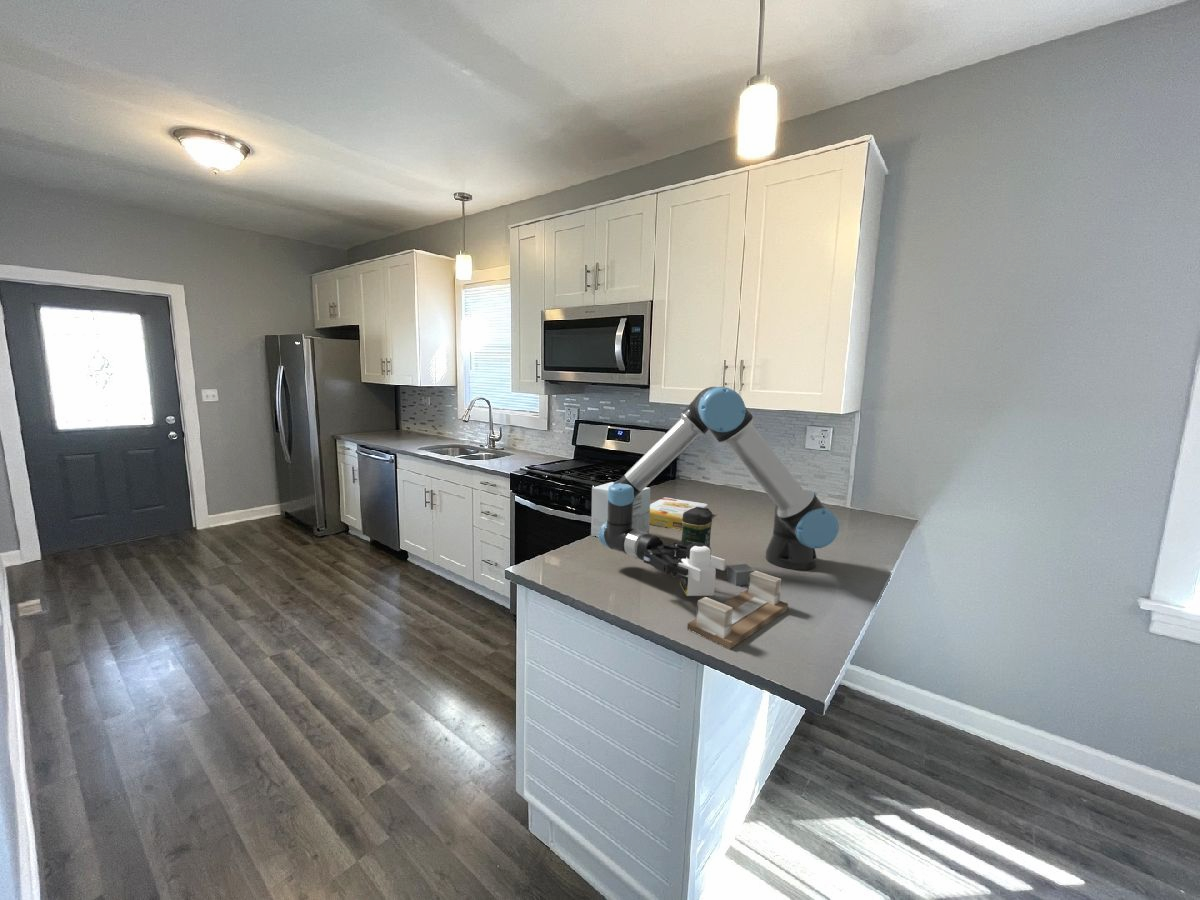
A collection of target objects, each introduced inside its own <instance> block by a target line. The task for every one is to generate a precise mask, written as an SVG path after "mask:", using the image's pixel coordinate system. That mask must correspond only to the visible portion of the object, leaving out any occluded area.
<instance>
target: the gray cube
mask: <svg viewBox="0 0 1200 900" xmlns="http://www.w3.org/2000/svg"><path fill="white" fill-rule="evenodd" d="M754 571H757V570H756V569H754V568H752V567H751V566H750V565H748V564H747V563H742V564H731V565H730V564H729V565H727V567H726V579H727V580H728V581H729V580H730V581H729V582H731V583H732V584H733V585H734V584H735V585H734V586H744V585H748V579H749V576H750V573H752V572H754Z"/></svg>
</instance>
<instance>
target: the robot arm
mask: <svg viewBox="0 0 1200 900" xmlns="http://www.w3.org/2000/svg"><path fill="white" fill-rule="evenodd" d="M753 424H754V416H753V415H752V414H751V412H750V411H749V409H748V408H747V407H746V404H745V402H744V400H743V397H742V396H741V395H740V394H739V393H738V392H737V391H736V390H734V389H732V388H729V387H725V386H709V387H706V388H705V389H703V390H701V391H700V392H698V394H697V395H696V396H695V397H694V399H693V400H692V401H691V402H690V403H689V405H688V406H687V407H686V408H685V409H684V410H683V411H682V412H681V413H680V419H678V420H677V422H675V424H673V425H672V427H671V428H670V429H669V430H668V431H666V433H665V434H664V435H662V436H661V438H659V440H657V442H655V444H654V445H653V446H651V448H649V450H648V451H647V452H645V454H643V455H642V457H641V458H640V459H638V460H637V461H636V462H635V464H633V466H632V467H630V468H629V469H628V470H627V471H626V473H625V474H624V475H623V476H622V477H621V478H620V479H619V480H616V481H614V483H613V485H611V486H609V488H608V497H607V499H608V519H607V522H605V523H604V524H603V525H602V526H601V530H600V531H599V537H598V539H599V542H600V543H601V544H602V545H603V546H605V547H607V548H609V549H611V550H614V551H617V552H620V553H622V554H625V555H628V556H631V557H634V559H639V560H641V561H643V563H645V564H646V565H647V564H648V565H649V566H652V567H654V568H655V569H656V570H657V571H660V572H662V574H664V575H667V576H668V575H670V574H671V577H677V575H679V576H680V575H683V576H685V577H688V578H691V579H693V580H696V581H699V582H700V581H701V576H702V570H700V569H697V568H694V567H691V566H688V565H686V564H683V563H680V562H678V563H677V562H676V561H677V560H680V559H686V554H687V545H682V544H681V543H678V542H676V541H675V542H673V544H672V545H670V544H669V543H664V542H663V541H662V539H661V537H659V536H656V535H654V534H651V533H649V534H648V533H646V532H642V531H639V530H636V529H633V528H632V525H633V502H634V498H635V497H636V496H637V495H638V494H639V493H640V492H641V491H642V490H643V489H644V488H645V487H647V486H649V484H650V483H651V482H653V480H655V478H656V477H658V476H659V475H660V474H661V472H663V471H664V470H665V469H666V468H667V467H668V466H669V465H670V464H671V463H672V462H673V461H674V460H675V459H677V457H678V456H679V455H680V454H682V452H683V451H684V450H685V449H686V448H688V446H689V445H691V443H692V442H694V440H696V438H697V437H699V436H704V435H705V434H706V433H707V432H708V431H709V432H710V433H711V435H713V436H714V438H715V439H716V440H717V442H718V443H719V444H726V445H728V447H729V448H730V449H731V451H732V452H733V453H734V454H735V456H736V457H737V458H738V460H740V462H741V463H742V464H743V466H744V467H746V469H747V470H748V471H749V473H750V474H751V475H752V476H753V478H754V479H755V480H756V482H757V483H758V484H759V485H760V486H761V488H762V489H763V490H764V492H765V493H766V494H767V495H768V497H769V498H770V499H771V500H772V501H773V503H774V504H775V505H774V515H773V530H772V536H771V539H770V540H769V543H768V545H767V547H766V550H765V559H766V560H767V561H768V563H770V564H773V565H775V566H778V567H781V568H786V569H792V570H809V569H813V568H815V567H816V566H817V561H818V559H817V558H818V557H817V554H816V550H815V549H822V548H825V547H828V546H829V545H831V544H832V543H833V542H834V541H835V539H836V538H837V536H838V534H839V530H840V523H839V520H838V518H837V516H836V515H835V514H834V512H833V511H831V510H829V509H827V507H826V506H825V505H824V504H823V503H822V502H821V500H820V499H819V498H818V497H817V493H816V492H815V491H813V490H811V489H804V488H803V487H802V485H801V484H800V483H799V481H798V480H797V479H796V478H795V476H794V475H793V474H792V473H791V471H790V470H789V469H788V468H787V466H786V465H785V464H784V463H783V461H782V460H781V459H780V458H779V456H778V455H777V454H776V452H775V451H774V450H773V449H772V448H771V447H770V445H769V444H768V443H767V441H766V440H765V439H764V438H763V436H762V435H761V434H760V432H759V431H758V430H757V428H756V427H755V426H754V425H753ZM710 563H711V564H712V565H713V566H714V568H715V569H717V570H720V571H725V569H726V559H724V558H721V557H718V556H715V555H712V554H711V561H710Z"/></svg>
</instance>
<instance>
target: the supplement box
mask: <svg viewBox="0 0 1200 900" xmlns="http://www.w3.org/2000/svg"><path fill="white" fill-rule="evenodd" d="M613 483H615V481H614V482H613V481H611V482H607V483H604V484H600V485H597V486H593V487H592V488H591V518H590V519H591V522H590V523H591V524H590V525H591V526H590V536H591V537H595V536H596V538H599V531H600V530H601V526H602V525H603V524H604V523H605V522H607V519H608V499H607V497H608V488H609V486H611V485H613ZM650 504H651V487H647V486H646V487H645V488H644V489H643V490H642V491H641V492H640V493H639V494H638V495H637V496H636V497H635V498H634V502H633V525H632V528H633V529H636V530H639V531H642V532H646V533H648V534H650V524H649V520H650Z"/></svg>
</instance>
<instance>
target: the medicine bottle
mask: <svg viewBox="0 0 1200 900" xmlns="http://www.w3.org/2000/svg"><path fill="white" fill-rule="evenodd" d="M711 555H712V548H711V545H710V546H708V545H706V544H704V543H691V544H689V545H688V546H687V554H686V559H681V563H683V564H686V565H688V566H691V567H694V568H697V569H700V570H702V576H701V581H700V582H699V581H696V580H693V579H691V578H688V577H685V576H683V575H680V574H679V576H680V577H679V578H680V579H679V585H680V587H681V588H682V590H683V592H684V594H685V595H686V597H702V596H703V597H708V596H712V597H713V596H715V591H716V590H715V588H716V587H715V586H716V575H717V573H716V572H717V570H716V569H717V568H714V566H713V565H712V564H711V563H710V561H711Z"/></svg>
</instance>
